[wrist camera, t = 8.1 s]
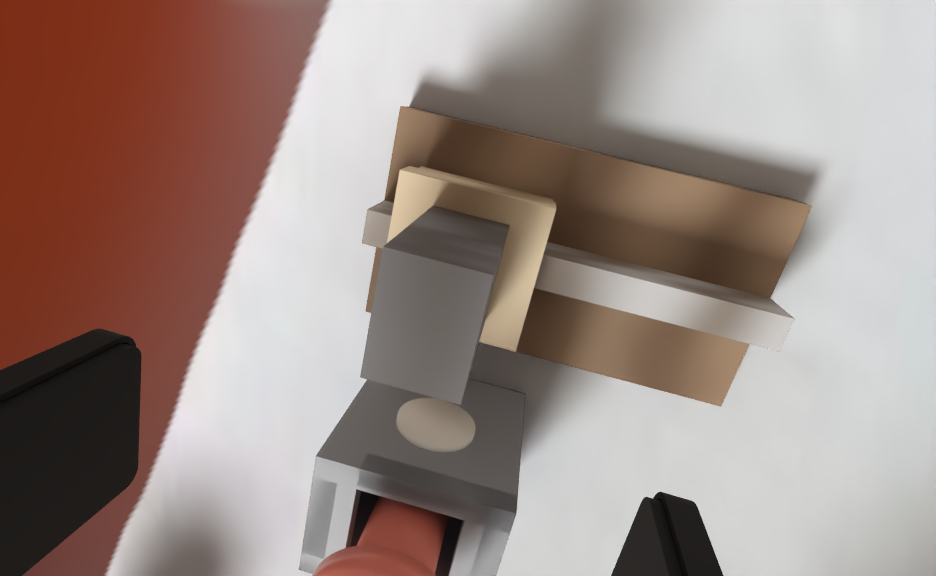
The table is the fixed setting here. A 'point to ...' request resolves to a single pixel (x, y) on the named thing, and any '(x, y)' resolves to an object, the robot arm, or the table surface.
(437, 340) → the carriage
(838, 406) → the table surface
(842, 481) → the table surface
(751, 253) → the slide rail
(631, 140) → the table surface
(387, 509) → the button
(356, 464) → the gauge cabinet
